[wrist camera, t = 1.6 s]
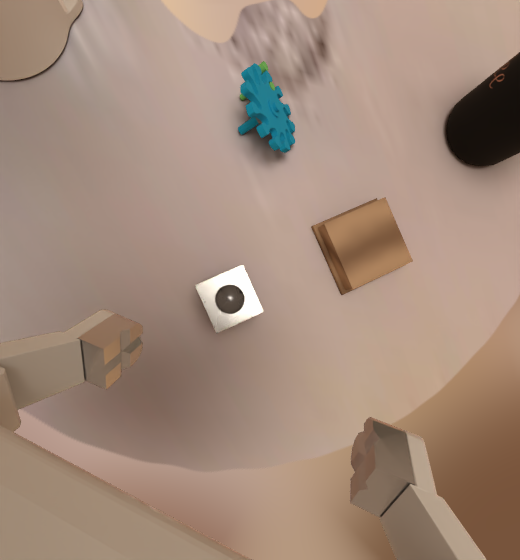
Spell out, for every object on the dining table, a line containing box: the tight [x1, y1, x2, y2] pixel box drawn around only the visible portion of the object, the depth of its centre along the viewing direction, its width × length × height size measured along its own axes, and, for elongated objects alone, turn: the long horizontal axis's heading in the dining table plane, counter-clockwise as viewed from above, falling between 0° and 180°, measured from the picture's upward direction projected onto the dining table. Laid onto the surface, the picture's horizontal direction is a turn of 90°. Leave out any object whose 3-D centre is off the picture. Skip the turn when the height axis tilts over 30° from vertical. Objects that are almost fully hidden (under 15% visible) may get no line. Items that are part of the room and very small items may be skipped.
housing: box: [195, 265, 264, 333], centre depth 31 cm, size 6×6×10 cm
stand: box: [312, 198, 413, 295], centre depth 37 cm, size 10×10×3 cm
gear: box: [238, 61, 295, 153], centre depth 35 cm, size 11×6×10 cm
